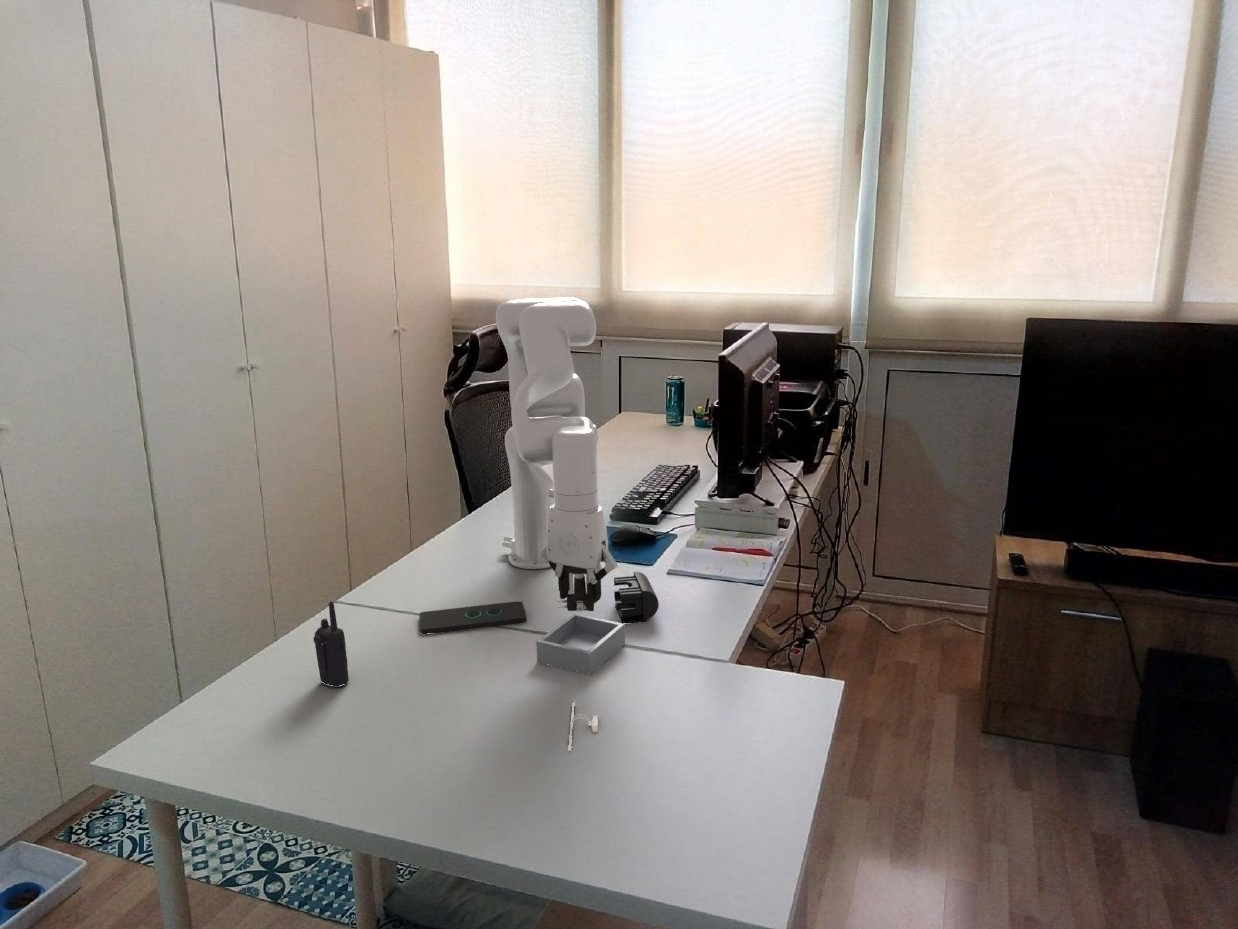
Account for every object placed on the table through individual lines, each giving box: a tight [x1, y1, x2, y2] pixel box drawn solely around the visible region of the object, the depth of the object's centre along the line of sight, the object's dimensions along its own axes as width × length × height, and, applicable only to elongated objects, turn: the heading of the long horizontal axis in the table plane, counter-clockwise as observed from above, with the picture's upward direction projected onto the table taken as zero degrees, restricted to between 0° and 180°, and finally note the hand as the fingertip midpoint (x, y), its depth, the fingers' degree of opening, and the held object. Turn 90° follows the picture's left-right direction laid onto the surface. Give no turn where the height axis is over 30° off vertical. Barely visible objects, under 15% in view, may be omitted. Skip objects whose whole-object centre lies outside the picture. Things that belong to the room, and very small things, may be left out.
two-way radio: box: [313, 601, 350, 686], centre depth 147 cm, size 6×4×15 cm
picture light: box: [567, 701, 599, 749], centre depth 136 cm, size 14×4×2 cm, turn 0°
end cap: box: [613, 570, 660, 624], centre depth 173 cm, size 10×7×7 cm
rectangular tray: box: [535, 612, 626, 676], centre depth 158 cm, size 11×13×4 cm
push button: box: [557, 566, 595, 612], centre depth 155 cm, size 7×5×10 cm
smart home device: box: [419, 600, 528, 635], centre depth 172 cm, size 8×2×20 cm
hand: (580, 598), depth 155 cm, fingers closed on push button, 5 cm apart
